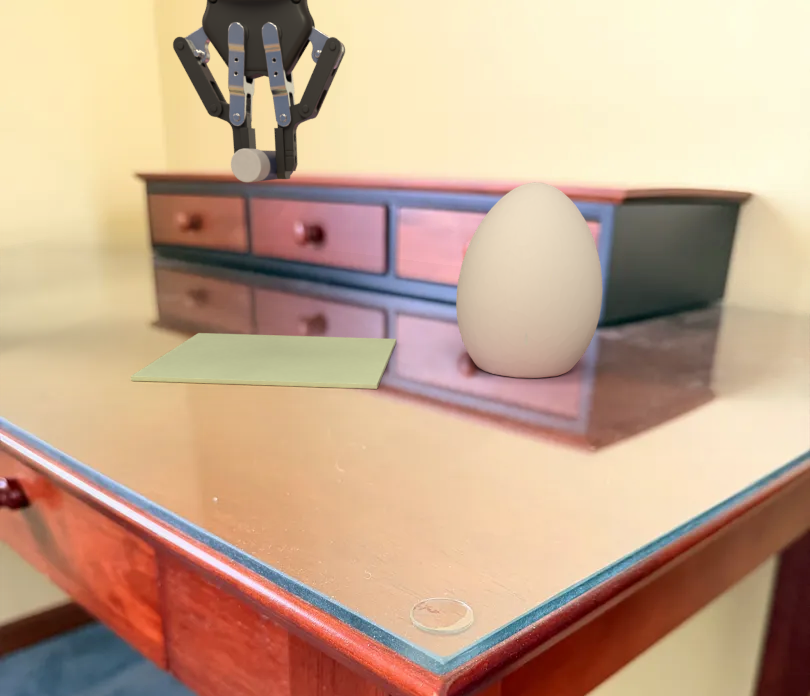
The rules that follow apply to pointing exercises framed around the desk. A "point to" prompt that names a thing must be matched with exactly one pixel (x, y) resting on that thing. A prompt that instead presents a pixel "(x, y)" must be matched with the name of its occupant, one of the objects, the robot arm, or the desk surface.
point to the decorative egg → (530, 285)
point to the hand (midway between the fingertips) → (266, 177)
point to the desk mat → (273, 361)
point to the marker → (254, 165)
